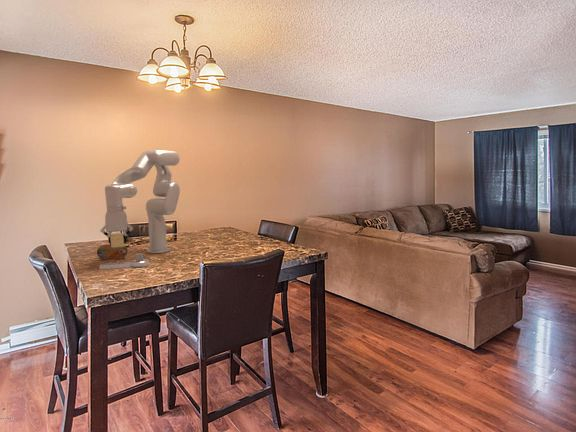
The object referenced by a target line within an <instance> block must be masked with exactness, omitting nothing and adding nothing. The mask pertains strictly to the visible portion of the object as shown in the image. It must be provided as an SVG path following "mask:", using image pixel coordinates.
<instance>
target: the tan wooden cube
mask: <svg viewBox="0 0 576 432" xmlns="http://www.w3.org/2000/svg"><path fill="white" fill-rule="evenodd" d="M110 239H111V248H112V247H124V246H126V244H124V233H123V232H117V233H115V232H113V233H111V236H110Z"/></svg>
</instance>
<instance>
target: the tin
mask: <svg viewBox="0 0 576 432" xmlns="http://www.w3.org/2000/svg"><path fill="white" fill-rule="evenodd" d="M127 254H128V248H127V246H126V245H125V246H124V247H112V248H111V245H110V243H108V244H102V245H100V246H99V247H98V248H97V249H96V255H97V257H98V258H99V259H101V260H102V261H113V260H122V259H124V258H125V257H126V256H127Z"/></svg>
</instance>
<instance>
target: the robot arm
mask: <svg viewBox="0 0 576 432" xmlns="http://www.w3.org/2000/svg"><path fill="white" fill-rule="evenodd" d="M180 158H181V157H180V155H179V153H177V151H174V150H161V149H150V150H149V149H148V150H145V151H143V152H142V153H141V155H139V157H138V158H137V160H136V161H135V162H134V163H133V165H131V167H129V168H128V169H126V170H125V171H123V172H121V173H120V174H118V176H116V178H115V179H113V181H112V182H111V184H110V185H109V184H108V185H106V186H105V187H104V195H105V204H106V212H105V214H104V215H105V216H104V220H105V222H104V223H105V224H104V226H103V227H102V228H101V229H100V230H99V232H101V233H102V234H103V235H105V236H106V237H107V239H108V244H110V245H111V239H110V236H111V234H113V233H115V232H117V233H118V232H121V233H124V244H125V245H126V244H127V243H128V235H129V234H130V233H131V232H132V231H133V230H134V227H133V226H132V225H130V224H129V223H128V218H127V217H128V216H127V213H126V210H127V206H124V203H123V199H132V198H134V197H135V196H136V195H137V193H138V188H137V187H136V185H134V184H132V183H133V182H137V181H140V180H142V179H144V178H146V176H147V175H148V174H149V172H150V171H151V169H152V168H153V167H154V168H155V169H156V177H155V180H154V185H153V188H152V193H153V195H154V197H155V198H150V199H148V200H147V201H146V203H145V211H146V214H147V220H148V237H149V238H148V239H149V240H148V241H149V248H148V249H146V252H147V253H148V254H164V253H168V252H170V250H171V249H170V247H168V246H167V225H166V224H167V223H166V219H165V216H171V215H173V214H174V213H175V212H176V209H177V206H178V201H179V198H180V193H181V191H180V189H181V188H180V185H179V183H177V182H176V181H173V180H172V176H173V175H172V172H171V170H170V168H169V167H170V166H172V167H174V166H177V165H178V164H179V163H180Z"/></svg>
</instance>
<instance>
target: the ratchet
mask: <svg viewBox="0 0 576 432" xmlns="http://www.w3.org/2000/svg"><path fill="white" fill-rule="evenodd" d="M149 266H150V259H148V258H144V254H143V252H141V253H136V254H135V259H132V260H130V261H121V262H110V263H109V262H108V263H100V264H99V267H98V268H99V271H102V270H115V269H125V268H131V269H140V268H147V267H149Z"/></svg>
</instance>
